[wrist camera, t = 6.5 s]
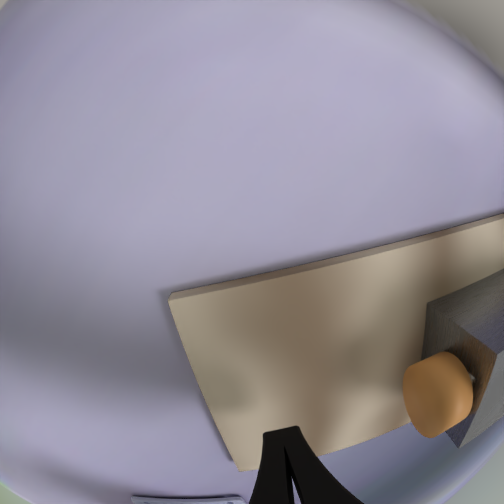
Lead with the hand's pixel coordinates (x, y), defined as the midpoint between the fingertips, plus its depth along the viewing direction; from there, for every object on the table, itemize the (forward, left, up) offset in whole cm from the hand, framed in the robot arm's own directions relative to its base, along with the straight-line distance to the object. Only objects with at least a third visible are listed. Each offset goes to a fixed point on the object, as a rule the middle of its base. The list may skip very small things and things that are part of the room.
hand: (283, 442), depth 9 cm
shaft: (+13, 0, -1) cm, 13 cm away
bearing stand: (+8, 0, -3) cm, 9 cm away
